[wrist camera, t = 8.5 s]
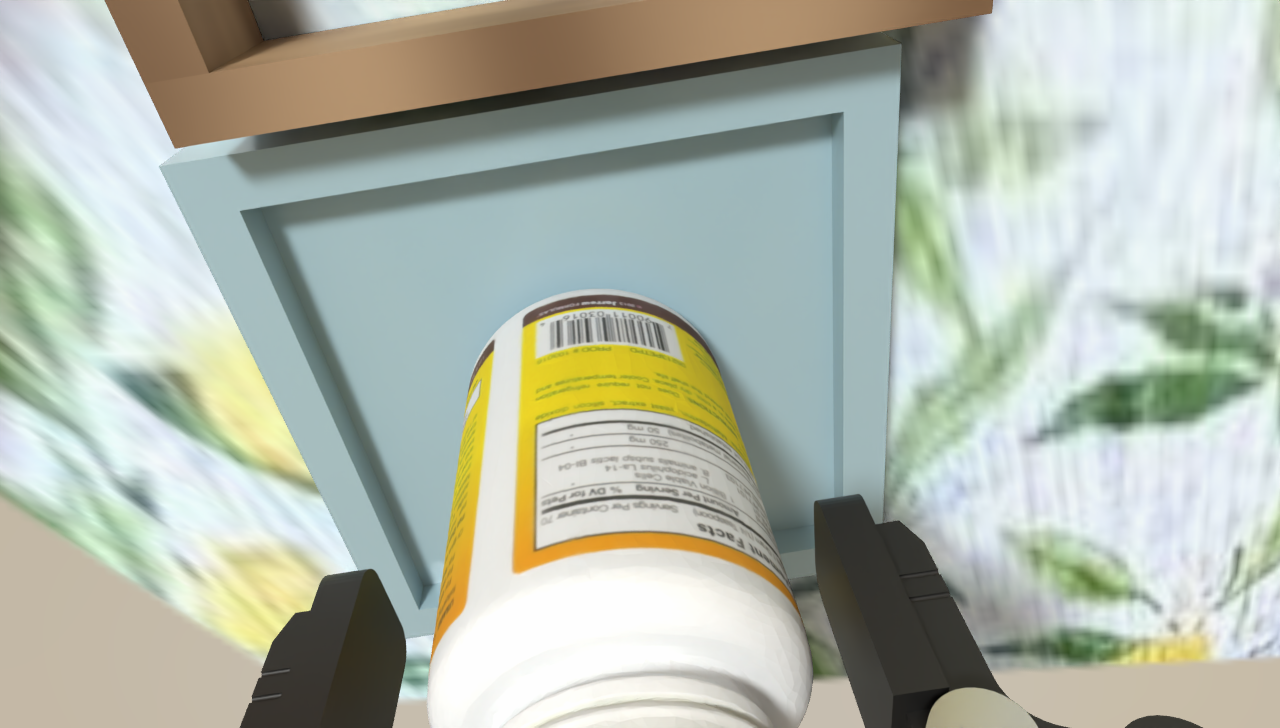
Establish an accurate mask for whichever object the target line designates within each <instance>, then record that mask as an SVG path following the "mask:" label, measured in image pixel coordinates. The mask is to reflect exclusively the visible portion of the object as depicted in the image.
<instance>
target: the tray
mask: <svg viewBox="0 0 1280 728" xmlns="http://www.w3.org/2000/svg"><path fill="white" fill-rule="evenodd" d="M901 51H902V43H900V42H898V41H896V40H895V39H893V38H891V37H889V36H887V35H886V34H884V33H882V32H876V33H870V34H864V35H857V36H851V37H845V38H839V39H833V40H827V41H821V42H815V43H809V44H803V45H797V46H791V47H785V48H779V49H773V50H767V51H761V52H755V53H749V54H743V55H737V56H731V57H725V58H719V59H713V60H707V61H701V62H694V63H688V64H682V65H676V66H670V67H664V68H658V69H652V70H646V71H640V72H634V73H628V74H622V75H616V76H610V77H604V78H598V79H592V80H586V81H580V82H574V83H568V84H562V85H556V86H550V87H544V88H538V89H531V90H525V91H519V92H513V93H507V94H501V95H495V96H489V97H483V98H477V99H471V100H465V101H459V102H453V103H447V104H441V105H435V106H429V107H423V108H417V109H411V110H405V111H399V112H393V113H387V114H381V115H375V116H368V117H362V118H356V119H350V120H344V121H338V122H332V123H326V124H320V125H314V126H308V127H302V128H296V129H290V130H284V131H278V132H272V133H266V134H260V135H254V136H248V137H242V138H236V139H230V140H224V141H218V142H212V143H205V144H199V145H193V146H187V147H184V148H183V149H182V150H180V151H179V152H178V153H176V154H175V155H174V156H172V157H171V158H170V159H168V160H167V161H165V162H164V163H163V164H161V165H160V166H159V168H160V170H161V172H162V174H163V176H164V178H165V180H166V182H167V184H168V186H169V188H170V190H171V192H172V194H173V196H174V198H175V200H176V202H177V204H178V206H179V208H180V210H181V212H182V214H183V216H184V218H185V220H186V222H187V224H188V226H189V228H190V230H191V232H192V234H193V236H194V238H195V240H196V243H197V245H198V247H199V249H200V251H201V253H202V255H203V257H204V259H205V261H206V263H207V265H208V267H209V269H210V271H211V273H212V275H213V277H214V279H215V281H216V283H217V285H218V287H219V289H220V291H221V293H222V295H223V297H224V299H225V301H226V303H227V305H228V307H229V309H230V311H231V313H232V315H233V318H234V320H235V322H236V324H237V326H238V328H239V330H240V332H241V334H242V336H243V338H244V340H245V342H246V344H247V346H248V348H249V350H250V352H251V354H252V356H253V358H254V360H255V362H256V364H257V366H258V368H259V370H260V372H261V374H262V376H263V378H264V380H265V382H266V384H267V386H268V388H269V391H270V393H271V395H272V397H273V399H274V401H275V403H276V405H277V407H278V409H279V411H280V413H281V415H282V417H283V419H284V421H285V423H286V425H287V427H288V429H289V431H290V433H291V435H292V437H293V439H294V441H295V443H296V445H297V447H298V449H299V451H300V453H301V455H302V457H303V459H304V461H305V463H306V466H307V468H308V470H309V472H310V474H311V476H312V478H313V480H314V482H315V484H316V486H317V488H318V490H319V492H320V494H321V496H322V498H323V500H324V502H325V504H326V506H327V508H328V510H329V512H330V514H331V516H332V518H333V520H334V522H335V524H336V526H337V528H338V530H339V532H340V534H341V536H342V538H343V541H344V543H345V545H346V547H347V549H348V551H349V553H350V555H351V557H352V559H353V561H354V563H355V565H356V567H357V569H358V571H359V570H365V569H373V570H375V571H376V573H377V574H378V576H379V578H380V580H381V582H382V584H383V586H384V588H385V591H386V593H387V595H388V597H389V599H390V601H391V603H392V605H393V607H394V610H395V612H396V614H397V616H398V618H399V620H400V622H401V624H402V627H403V630H404V634H405V639H407V638H414V637H420V636H427V635H433V634H434V633H435V626H436V617H437V610H438V605H439V596H440V589H441V582H442V576H443V568H444V561H445V553H446V546H447V540H448V531H449V523H450V517H451V510H452V503H453V495H454V487H455V480H456V473H457V467H458V459H459V452H460V445H461V439H462V430H463V422H464V413H465V407H466V401H467V395H468V389H469V384H470V379H471V375H472V372H473V369H474V365H475V363H476V361H477V359H478V357H479V355H480V353H481V351H482V350H483V348H484V347H485V345H486V344H487V342H488V341H489V339H490V338H491V337H492V336H493V335H494V333H495V332H496V331H497V330H498V329H499V328H500V327H501V326H502V325H503V324H504V323H505V322H507V321H508V320H509V319H510V318H512V317H513V316H514V315H515V314H517V313H519V312H520V311H522V310H523V309H525V308H526V307H528V306H530V305H532V304H534V303H536V302H539V301H541V300H543V299H546V298H548V297H551V296H554V295H557V294H561V293H565V292H570V291H576V290H584V289H615V290H622V291H627V292H632V293H636V294H639V295H642V296H646V297H648V298H651V299H654V300H656V301H658V302H660V303H662V304H664V305H666V306H668V307H669V308H671V309H673V310H674V311H676V312H677V313H679V314H680V315H681V316H682V317H683V318H685V319H686V320H687V321H688V322H689V323H690V324H691V325H692V326H693V327H694V328H695V329H696V330H697V331H698V332H699V333H700V335H701V336H702V337H703V339H704V340H705V342H706V343H707V345H708V346H709V348H710V350H711V352H712V354H713V356H714V358H715V360H716V363H717V365H718V367H719V370H720V373H721V377H722V380H723V383H724V386H725V389H726V392H727V395H728V398H729V401H730V404H731V408H732V411H733V414H734V417H735V420H736V423H737V426H738V429H739V432H740V435H741V438H742V441H743V443H744V446H745V449H746V453H747V456H748V459H749V462H750V465H751V468H752V471H753V475H754V477H755V480H756V483H757V486H758V489H759V493H760V496H761V499H762V502H763V505H764V508H765V511H766V514H767V517H768V520H769V523H770V526H771V529H772V532H773V535H774V538H775V541H776V544H777V547H778V550H779V553H780V556H781V559H782V562H783V565H784V568H785V571H786V574H787V577H788V579H794V578H800V577H807V576H813V575H816V567H815V539H814V502H815V501H816V500H822V499H829V498H835V497H841V496H848V495H854V494H860V495H861V496H862V497H863V499H864V501H865V503H866V505H867V507H868V509H869V511H870V514H871V516H872V518H873V520H874V522H875V524H881V523H883V503H884V478H885V453H886V428H887V403H888V378H889V353H890V327H891V302H892V277H893V252H894V227H895V202H896V177H897V152H898V127H899V102H900V76H901Z"/></svg>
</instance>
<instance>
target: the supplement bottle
mask: <svg viewBox="0 0 1280 728" xmlns="http://www.w3.org/2000/svg"><path fill="white" fill-rule="evenodd" d="M812 684H813V664H812V655H811V650H810V646H809V643H808V639H807V635H806V631H805V627H804V624H803V621H802V618H801V616H800V613H799V610H798V607H797V603H796V600H795V598H794V595H793V592H792V589H791V586H790V583H789V580H788V577H787V574H786V571H785V568H784V565H783V562H782V559H781V556H780V553H779V550H778V547H777V544H776V541H775V538H774V535H773V532H772V529H771V526H770V523H769V520H768V517H767V514H766V511H765V508H764V505H763V502H762V499H761V496H760V493H759V489H758V486H757V483H756V480H755V477H754V475H753V471H752V468H751V465H750V462H749V459H748V456H747V453H746V449H745V446H744V443H743V441H742V438H741V435H740V432H739V429H738V426H737V423H736V420H735V417H734V414H733V411H732V408H731V404H730V401H729V398H728V395H727V392H726V389H725V386H724V383H723V380H722V377H721V373H720V370H719V367H718V365H717V363H716V360H715V358H714V356H713V354H712V352H711V350H710V348H709V346H708V345H707V343H706V342H705V340H704V339H703V337H702V336H701V335H700V333H699V332H698V331H697V330H696V329H695V328H694V327H693V326H692V325H691V324H690V323H689V322H688V321H687V320H686V319H685V318H683V317H682V316H681V315H680V314H679V313H677V312H676V311H674V310H673V309H671V308H669V307H668V306H666V305H664V304H662V303H660V302H658V301H656V300H654V299H651V298H648V297H646V296H642V295H639V294H636V293H632V292H627V291H622V290H615V289H584V290H576V291H570V292H565V293H561V294H557V295H554V296H551V297H548V298H546V299H543V300H541V301H539V302H536V303H534V304H532V305H530V306H528V307H526V308H525V309H523V310H522V311H520V312H519V313H517V314H515V315H514V316H513V317H512V318H510V319H509V320H508V321H507V322H505V323H504V324H503V325H502V326H501V327H500V328H499V329H498V330H497V331H496V332H495V333H494V335H493V336H492V337H491V338H490V339H489V341H488V342H487V344H486V345H485V347H484V348H483V350H482V351H481V353H480V355H479V357H478V359H477V361H476V363H475V365H474V369H473V372H472V375H471V379H470V384H469V389H468V395H467V401H466V407H465V413H464V422H463V430H462V439H461V445H460V452H459V459H458V467H457V473H456V480H455V487H454V495H453V503H452V510H451V517H450V523H449V531H448V540H447V546H446V553H445V561H444V568H443V576H442V582H441V589H440V596H439V605H438V610H437V617H436V626H435V633H434V639H433V647H432V654H431V661H430V669H429V678H428V693H427V710H428V717H429V722H430V727H431V728H798V727H799V725H800V723H801V721H802V719H803V717H804V715H805V713H806V710H807V707H808V704H809V700H810V696H811V692H812Z"/></svg>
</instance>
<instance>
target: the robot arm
mask: <svg viewBox="0 0 1280 728" xmlns="http://www.w3.org/2000/svg"><path fill="white" fill-rule="evenodd" d="M814 539H815V567H816V575H817V581H818V585H819V590H820V594H821V598H822V601H823V604H824V607H825V610H826V613H827V616H828V619H829V622H830V625H831V628H832V631H833V634H834V637H835V640H836V642H837V645H838V648H839V651H840V654H841V657H842V660H843V663H844V666H845V669H846V672H847V675H848V678H849V681H850V684H851V687H852V690H853V693H854V695H855V698H856V702H857V704H858V707H859V710H860V713H861V716H862V719H863V722H864V725H865V728H1068V727H1063V726H1059V725H1055V724H1052V723H1049V722H1046V721H1043V720H1041V719H1039V718H1037V717H1035V716H1033V715H1031V714H1030V713H1028V712H1026V711H1025V710H1024V709H1023V708H1022V707H1021V706H1019V705H1018V704H1017V703H1015V702H1014V701H1013V700H1011V699H1010V698H1009V697H1008V696H1007V695H1006V694H1005V693H1004V692H1003V691H1002V689H1001V688H1000V687H999V685H998V684H997V682H996V681H995V679H994V677H993V675H992V673H991V671H990V669H989V668H988V666H987V664H986V662H985V660H984V658H983V656H982V654H981V652H980V650H979V648H978V646H977V644H976V642H975V640H974V638H973V636H972V635H971V633H970V631H969V629H968V627H967V625H966V623H965V621H964V619H963V617H962V615H961V613H960V611H959V609H958V607H957V605H956V604H955V602H954V600H953V598H952V597H950V594H949V590H948V588H947V586H946V584H945V582H944V580H943V578H942V576H941V575H939V573H938V569H937V567H936V565H935V563H934V561H933V559H932V557H931V555H930V553H929V551H928V549H927V547H926V545H925V543H924V542H923V541H922V540H921V539H920V538H918V537H917V536H916V535H915V534H914V533H913V532H911V531H910V530H909V529H908V528H907V527H906V526H905V525H903V524H902V523H901V522H900V521H893V522H887V523H881V524H875V522H874V520H873V518H872V516H871V514H870V511H869V509H868V507H867V505H866V503H865V501H864V499H863V497H862V496H861V495H860V494H854V495H848V496H841V497H835V498H829V499H822V500H816V501H815V502H814ZM405 663H406V640H405V634H404V630H403V627H402V624H401V622H400V620H399V618H398V616H397V614H396V612H395V610H394V607H393V605H392V603H391V601H390V599H389V597H388V595H387V593H386V591H385V588H384V586H383V584H382V582H381V580H380V578H379V576H378V574H377V573H376V571H375V570H373V569H365V570H359V571H353V572H346V573H340V574H333V575H327V576H325V577H324V578H323V579H322V581H321V583H320V585H319V588H318V590H317V593H316V596H315V599H314V602H313V605H312V608H311V611H306V612H299V613H295V614H294V615H293V617H292V618H291V619H290V620H289V622H288V623H287V624H286V626H285V627H284V628H283V629H282V631H281V632H280V633H279V634H278V636H277V637H276V638H275V639H274V641H273V642H272V645H271V648H270V650H269V653H268V655H267V658H266V661H265V663H264V666H263V668H262V671H261V673H262V677H261V678H259V679H258V682H257V684H256V687H255V689H254V692H253V695H252V703H249V705H248V708H247V710H246V713H245V716H244V718H243V721H242V723H241V726H240V728H392V726H393V722H394V717H395V712H396V707H397V702H398V698H399V693H400V688H401V683H402V678H403V673H404V669H405ZM1125 728H1203V727H1200V726H1198V725H1196V724H1194V723H1191V722H1189V721H1186V720H1183V719H1180V718H1175V717H1170V716H1160V715H1156V716H1146V717H1143V718H1139V719H1137V720H1135V721H1132V722H1131V723H1130V724H1128V725H1127V726H1126V727H1125Z"/></svg>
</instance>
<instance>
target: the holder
mask: <svg viewBox="0 0 1280 728" xmlns="http://www.w3.org/2000/svg"><path fill="white" fill-rule="evenodd" d="M105 2H106V4H107V7H108V9H109V11H110V13H111V15H112V17H113V19H114V21H115V23H116V25H117V28H118V30H119V32H120V34H121V36H122V38H123V40H124V42H125V44H126V47H127V49H128V51H129V53H130V55H131V57H132V59H133V61H134V63H135V65H136V68H137V70H138V72H139V74H140V76H141V78H142V80H143V82H144V84H145V86H146V89H147V91H148V93H149V95H150V97H151V99H152V101H153V103H154V105H155V107H156V110H157V112H158V114H159V116H160V118H161V120H162V122H163V124H164V126H165V129H166V131H167V133H168V135H169V137H170V139H171V141H172V143H173V145H174V147H175V148H181V147H187V146H193V145H199V144H205V143H212V142H218V141H224V140H230V139H236V138H242V137H248V136H254V135H260V134H266V133H272V132H278V131H284V130H290V129H296V128H302V127H308V126H314V125H320V124H326V123H332V122H338V121H344V120H350V119H356V118H362V117H368V116H375V115H381V114H387V113H393V112H399V111H405V110H411V109H417V108H423V107H429V106H435V105H441V104H447V103H453V102H459V101H465V100H471V99H477V98H483V97H489V96H495V95H501V94H507V93H513V92H519V91H525V90H531V89H538V88H544V87H550V86H556V85H562V84H568V83H574V82H580V81H586V80H592V79H598V78H604V77H610V76H616V75H622V74H628V73H634V72H640V71H646V70H652V69H658V68H664V67H670V66H676V65H682V64H688V63H694V62H701V61H707V60H713V59H719V58H725V57H731V56H737V55H743V54H749V53H755V52H761V51H767V50H773V49H779V48H785V47H791V46H797V45H803V44H809V43H815V42H821V41H827V40H833V39H839V38H845V37H851V36H857V35H864V34H870V33H876V32H882V31H888V30H894V29H900V28H906V27H912V26H918V25H924V24H930V23H936V22H942V21H948V20H954V19H960V18H966V17H972V16H978V15H984V14H990V13H992V7H993V0H505V1H499V2H493V3H487V4H481V5H475V6H469V7H463V8H458V9H452V10H446V11H440V12H434V13H428V14H422V15H416V16H410V17H404V18H398V19H392V20H386V21H380V22H374V23H368V24H362V25H356V26H350V27H344V28H338V29H332V30H326V31H320V32H314V33H308V34H302V35H296V36H290V37H284V38H278V39H272V40H266V41H263V38H262V36H261V33H260V30H259V28H258V25H257V22H256V20H255V17H254V15H253V12H252V9H251V7H250V4H249V2H248V0H105Z"/></svg>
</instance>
